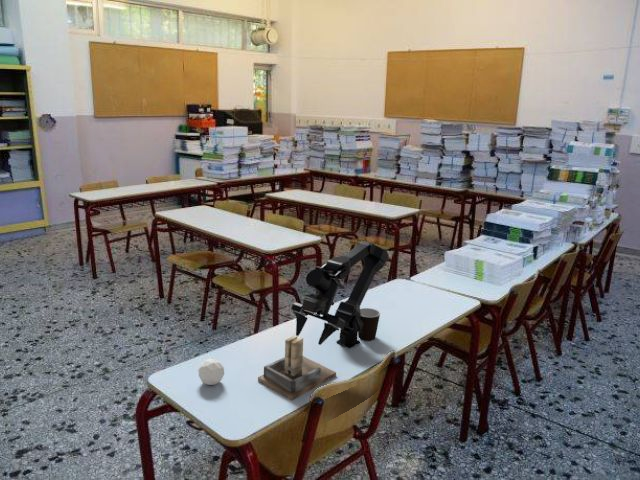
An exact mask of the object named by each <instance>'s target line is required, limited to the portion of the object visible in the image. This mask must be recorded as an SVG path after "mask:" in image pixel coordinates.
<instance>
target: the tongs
mask: <svg viewBox="0 0 640 480" xmlns="http://www.w3.org/2000/svg"><path fill="white" fill-rule="evenodd" d="M284 341H285V343H284V344H285V346H284V357H285V365H284V368H285V376H287V377H289V378H290V379H292V380H295V379H296V378H298V377H300V376H302V366H303V363H302V362H303V356H304V354H303V353H304V337H300V336H299V337H298V336H296V334H295V335H294V334H293V335H291V336H290V337H289V338H287V339H285V340H284Z"/></svg>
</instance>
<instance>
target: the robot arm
mask: <svg viewBox="0 0 640 480" xmlns="http://www.w3.org/2000/svg"><path fill="white" fill-rule="evenodd" d="M389 257H390V256H389V253H388V250H387V249H385V248H382V247H379V246H377V244H375V243H373V242H372V241H371V242H370V241H366V240H362V241H360V242H359V244H358V245H356V246H355V247H353V248H352V249H350V250H349V251H347V252H346V253H345V254H344V255H341V256H335V257H332V258H331V259H328V260H327V261H326V263H325V264H323V265H322V266H318V265H317V266H315V269H312V270H310V271H309V272H308V273H307V274H306V277H305V282H306V284H307V285H308V286H309V287H311V288H313V289H314V290H316V291H317V294H316V293H315V294H314V295H313V296H312V298H311V297H310V298H303V300H302V303H299V302H293V304H292V305H291V307H290V310H292V313H293V314H294V315H295V319H296V324H295V325H296V327H295V336H297V337H300V334H301V333H302V331H303V329H304V327H305V325H306V323H307V321H308V317H307V316H311V317H313V318H316V319H320V320H322V321H324V324H323V325H324V326H323V330H322V333H321V334H320V337H319V340H318V345H320V346H321V345H322V344H323V343H324V342H325V341H327V339H328V338H329V337H330V336H331V335H333V334H334V333H335V332H337V331H338V332H339V331H340V332H339V339H337V340H336V343H337V344H338V345H341V346H343V347H346V348H348V349H352V348H354V347H355V346H357V345H359V344H361V341H360V340H358V332H359V331H361V329H362V328H363V324H364V323H363V322H362V321H361V319H360V316H361V312H360V309H361V305H362V302H363V300H364V298H365V296H366V294H367V293H368V290H369V288H370V286H371V284H372V282H373V279H374V277H375V275H376V273H377V272H378V271H380V270H381V269H383V268H384V266H385V265H386V263H387V261H388V260H389ZM362 260H363V267H362V270H361V272H360V274H359V275H358V278H357V280H356V282H355V284H354V286H353V289H352V290H351V293H350V294H349V297H348V299H346V301H340V303H339V305H338V307H337V309H335V312H334V315H333V314H331V313H329V312H330V309H331V307H332V306H335V305H334V304H335V301H334V300H335V297H336V294H337V292H338V289H339V288H340V289H342V287H343V285H342V283H341V280H344V279H345V278H347V277H348V275H349V274H351V269H352V268H353V266H355V265H356V264H357V263H359V262H360V261H362Z"/></svg>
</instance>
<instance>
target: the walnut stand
mask: <svg viewBox="0 0 640 480" xmlns="http://www.w3.org/2000/svg"><path fill="white" fill-rule="evenodd" d="M302 363H303V366H302V376H300V377H298V378H296V379H295V380H292V379H290V378H289V377H287V376H285V368H284V365H285V356H284V357H282V358H280V359H278V360H275V361H273V362H271V363H269V364H267V365H265V366H263V374H262V375H260V376H258V377H257V381H258V382H260V383H261V384H263V385H265V386H266V387H268V388H270V389H272V390H273V391H275V392H277V393H279V394H281V395H282V396H284V397H286V398H287V399H289V400H291V401H293V400H296V399H297V398H299V397H300V396H301V395H303V394H305V393H307V392H309V391H310V390H313V389H314V388H316V387H318V386H320V385H322V384H323V383H325V382H327V381H329V380H332V379H333V378H334V377H336V376H337V372H336V371H335V370H332V369H331V368H328V367H326V366H324V365H322V364H320V363H318V362H316V361H314V360H311V359H309V358H307V357H306V356H304V355H303V362H302Z"/></svg>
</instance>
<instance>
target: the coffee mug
mask: <svg viewBox="0 0 640 480" xmlns="http://www.w3.org/2000/svg"><path fill="white" fill-rule="evenodd" d="M360 312H361V316H360V319H361V321H362V322H363V323H364V324H363V328H362V329H361V331H359V332H358V335H357V338H358V337H359V338H360V339H359V338H358V339H359V340H361V341H363V340H364V341H363V342H372V341H371V340H373V341H374V340H376V335H377V332H378V328H379V327H378V326H379V321H380V315H381V312H380V311H379V310H377V309H375V308H371V307H370V308H369V307H364V308H360Z"/></svg>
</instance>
